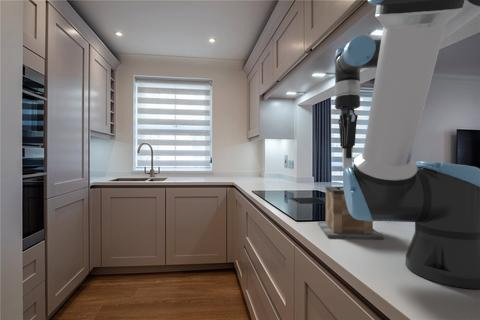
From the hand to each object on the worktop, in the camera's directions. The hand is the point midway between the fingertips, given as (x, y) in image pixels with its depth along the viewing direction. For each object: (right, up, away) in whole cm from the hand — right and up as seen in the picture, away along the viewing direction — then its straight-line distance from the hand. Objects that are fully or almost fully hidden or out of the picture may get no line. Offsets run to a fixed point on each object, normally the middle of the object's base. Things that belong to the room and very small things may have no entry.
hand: (347, 168), depth 88 cm
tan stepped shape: (0, -21, 0) cm, 21 cm away
